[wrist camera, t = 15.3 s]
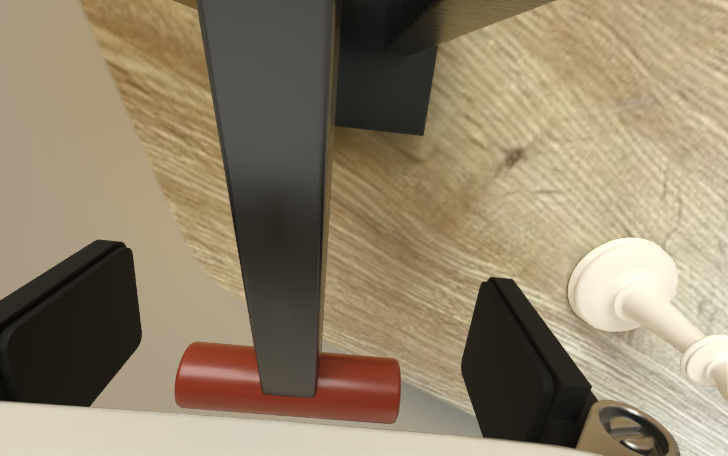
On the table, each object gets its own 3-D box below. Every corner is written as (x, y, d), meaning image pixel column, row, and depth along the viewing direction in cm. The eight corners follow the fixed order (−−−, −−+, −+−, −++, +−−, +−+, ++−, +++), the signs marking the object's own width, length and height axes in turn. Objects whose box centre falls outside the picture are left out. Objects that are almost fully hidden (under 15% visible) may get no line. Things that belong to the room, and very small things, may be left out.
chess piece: (555, 321, 20) (721, 533, 11) (584, 232, 18) (813, 395, 9) (648, 328, 20) (889, 543, 11) (685, 241, 19) (1011, 410, 9)
